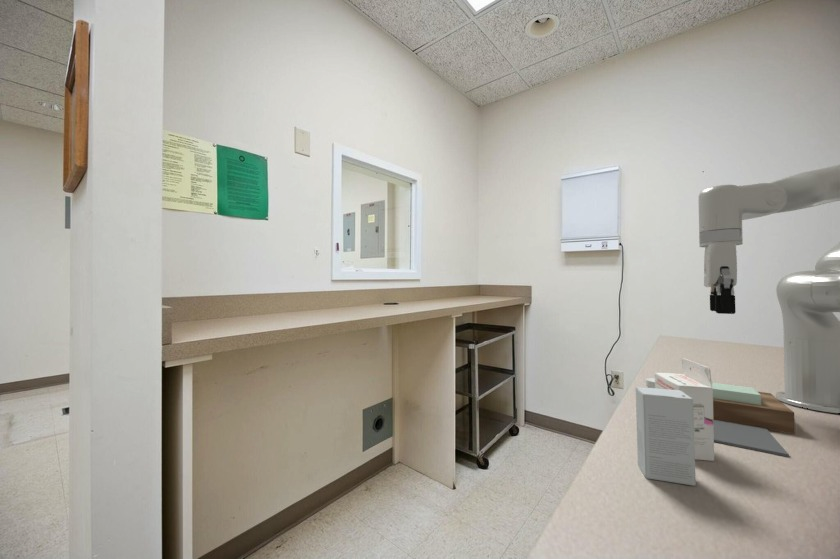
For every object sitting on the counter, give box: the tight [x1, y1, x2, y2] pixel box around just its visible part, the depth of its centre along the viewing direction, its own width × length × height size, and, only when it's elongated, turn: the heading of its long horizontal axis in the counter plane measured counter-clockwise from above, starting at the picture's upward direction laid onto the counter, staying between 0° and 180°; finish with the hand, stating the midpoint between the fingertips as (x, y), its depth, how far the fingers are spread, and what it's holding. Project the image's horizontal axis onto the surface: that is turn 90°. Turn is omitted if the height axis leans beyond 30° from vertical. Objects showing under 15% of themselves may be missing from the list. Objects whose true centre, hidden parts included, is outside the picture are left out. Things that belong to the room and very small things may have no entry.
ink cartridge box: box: [654, 357, 715, 462], centre depth 56 cm, size 9×5×15 cm, turn 168°
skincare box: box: [635, 386, 697, 487], centre depth 48 cm, size 6×4×12 cm
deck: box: [713, 391, 796, 435], centre depth 72 cm, size 14×16×4 cm
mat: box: [713, 420, 790, 458], centre depth 62 cm, size 12×13×1 cm
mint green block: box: [712, 382, 761, 405], centre depth 70 cm, size 6×8×2 cm
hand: (721, 312), depth 77 cm, fingers open, 9 cm apart
